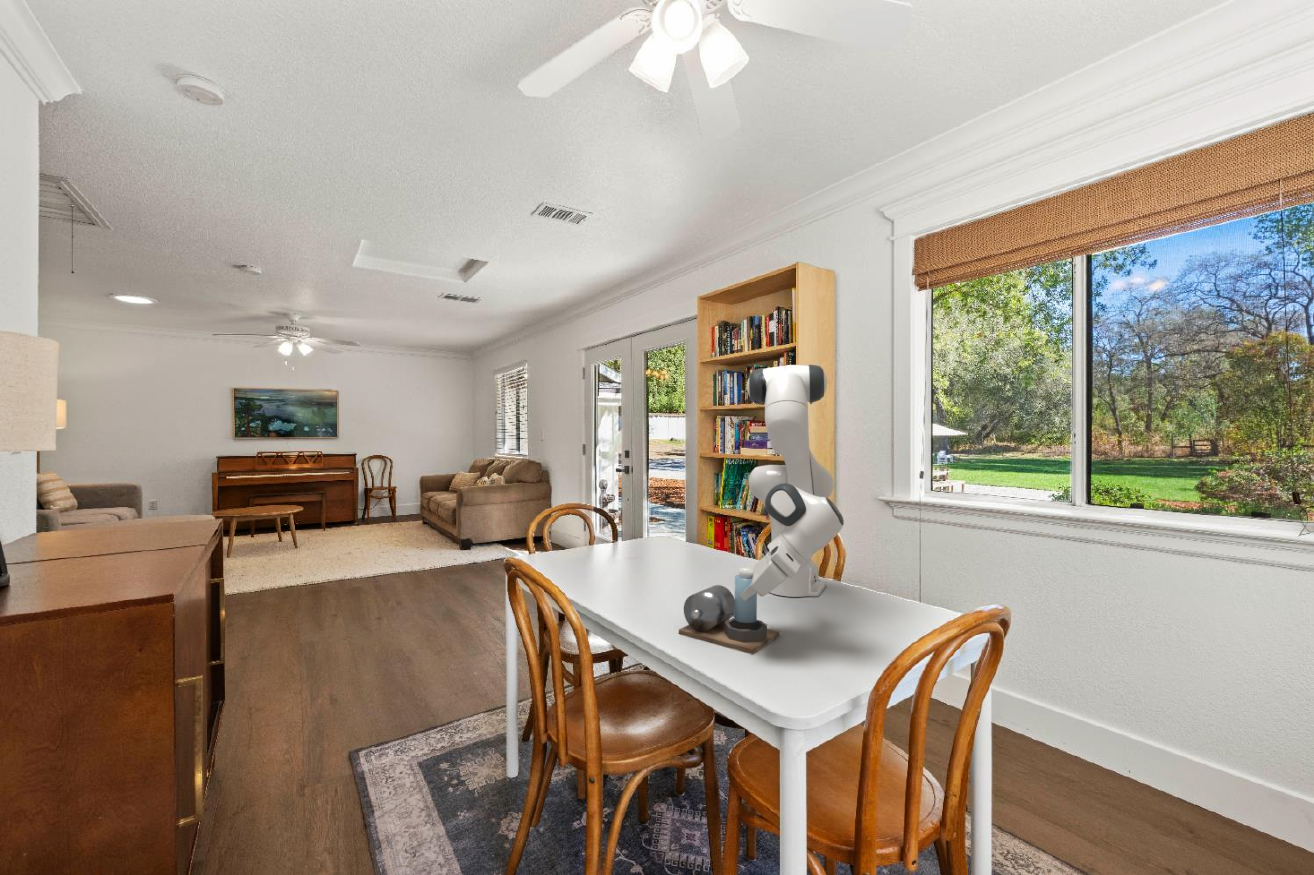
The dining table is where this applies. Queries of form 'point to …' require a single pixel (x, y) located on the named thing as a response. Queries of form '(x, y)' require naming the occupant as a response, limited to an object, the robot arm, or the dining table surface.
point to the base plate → (721, 638)
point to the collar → (745, 631)
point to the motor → (709, 608)
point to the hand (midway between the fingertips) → (743, 593)
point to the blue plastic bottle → (747, 608)
